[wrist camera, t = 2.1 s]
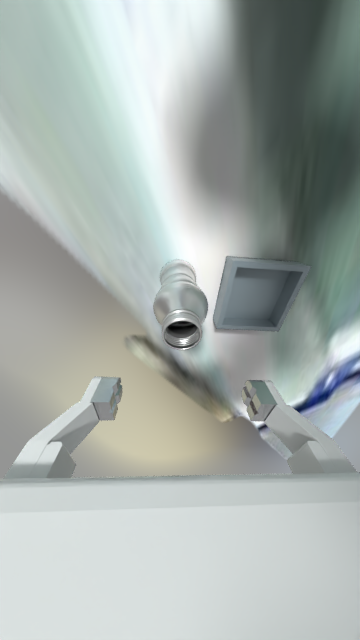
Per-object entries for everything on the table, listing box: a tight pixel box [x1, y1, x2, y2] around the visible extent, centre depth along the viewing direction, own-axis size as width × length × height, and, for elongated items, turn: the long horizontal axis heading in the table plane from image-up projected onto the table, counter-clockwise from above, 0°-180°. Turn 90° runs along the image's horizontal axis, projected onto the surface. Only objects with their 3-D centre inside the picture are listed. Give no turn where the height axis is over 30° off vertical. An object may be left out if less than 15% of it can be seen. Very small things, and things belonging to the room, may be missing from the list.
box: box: [213, 256, 311, 331], centre depth 32 cm, size 14×14×4 cm
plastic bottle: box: [153, 259, 208, 350], centre depth 23 cm, size 6×7×20 cm
